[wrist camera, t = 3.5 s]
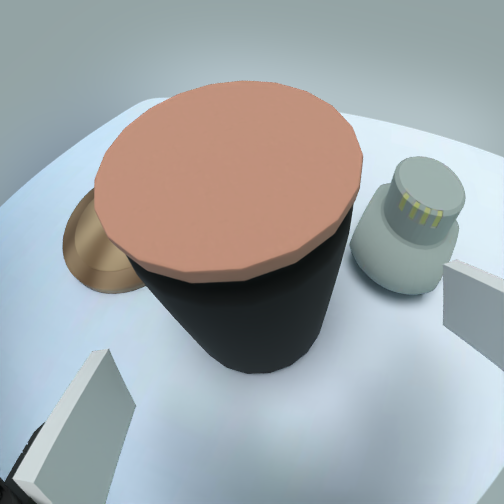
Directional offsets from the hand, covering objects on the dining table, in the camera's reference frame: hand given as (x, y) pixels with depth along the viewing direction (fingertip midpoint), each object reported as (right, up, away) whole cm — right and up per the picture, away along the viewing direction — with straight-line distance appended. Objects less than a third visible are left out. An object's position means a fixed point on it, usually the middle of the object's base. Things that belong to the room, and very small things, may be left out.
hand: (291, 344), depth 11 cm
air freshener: (+13, +3, +18) cm, 22 cm away
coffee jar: (-1, -2, +16) cm, 16 cm away
